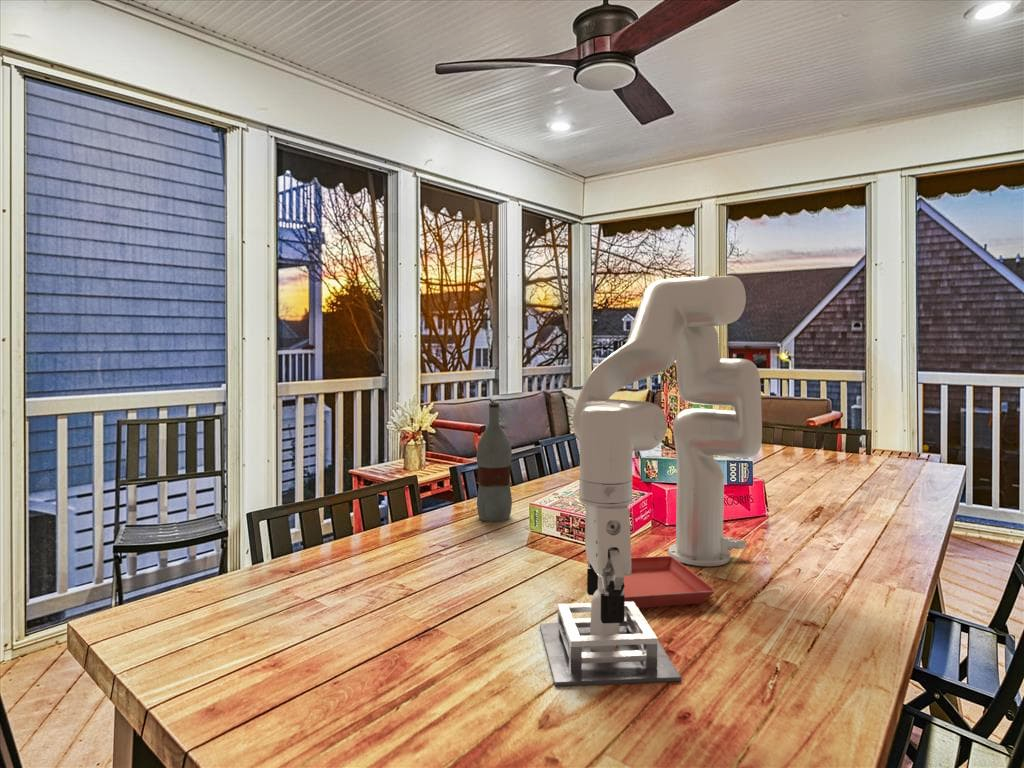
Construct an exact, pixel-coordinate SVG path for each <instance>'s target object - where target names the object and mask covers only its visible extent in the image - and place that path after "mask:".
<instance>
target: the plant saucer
mask: <svg viewBox="0 0 1024 768" xmlns="http://www.w3.org/2000/svg"><path fill="white" fill-rule="evenodd" d="M586 563H587V565H588V560H587V561H586ZM631 567H632V572H631V574H630V575H629V576H626V575H624V581H623V583H624V585H625V587H624V591H625V596H624V602H631V601H634V603H635V604H636V606H637V607H638V609H644V608H653V607H654V608H655V607H671V606H681V605H682V606H683V605H693V604H701V603H703V602H704V601H707V600H708V599H709V598H710V597H711V596H712V595H714V593H716V588H714V587H713V586H711V585H710V584H709V583H707V582H706V581H705V580H704V579H702V578H701V577H700V576H699V575H697V574H696V573H694V572H693V571H692V570H691V569H689V568H688V567H687V566H685V565H684V563H681V562H679V561H678V560H676V559H675V558H674V557H671V556H669V555H663V556H661V555H658V556H645V557H644V556H642V557H641V556H640V557H631ZM589 569H591V568H589ZM610 572H612V569H610Z"/></svg>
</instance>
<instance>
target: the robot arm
mask: <svg viewBox="0 0 1024 768" xmlns="http://www.w3.org/2000/svg"><path fill="white" fill-rule="evenodd" d="M746 302H747V297H746V289H745V286H744V284H743V282H742V281H741V279H740V278H739V277H737V276H735V275H720V276H716V275H715V276H714V275H711V276H710V275H709V276H707V275H706V276H705V275H704V276H692V277H674V278H673V277H672V278H664V279H663V278H662V279H659V280H656V281H653V282H652V283H650V284H649V285H648V286H647V287H646V288H645V291H643V295H642V297H641V299H640V302H639V305H638V308H637V312H636V313H635V317H634V318H633V322H632V325H631V328H630V331H629V334H628V337H627V340H626V342H625V344H623V345H622V346H621V347H619V348H618V349H616V350H615V351H613V352H612V353H610V355H608V356H607V357H606V358H604V359H603V360H602V361H601V362H600V363H599V364H598V365H596V367H594V368H593V370H592V371H590V373H589V374H588V376H587V377H586V379H585V380H584V383H583V385H582V388H581V390H580V393H579V395H578V398H577V401H576V404H575V407H574V411H573V414H572V415H573V416H572V429H573V433H574V436H575V438H576V439H577V440H578V441H579V495H578V496H579V499H578V501H579V502H580V503H582V504H584V505H585V508H584V509H585V523H584V526H585V527H584V545H585V555H586V558H587V561H588V564H587V569H586V571H587V573H586V578H587V579H586V580H587V581H586V582H587V583H586V591H587V594H588V595H589V596H593V594H594V593H595V591H596V590H597V589H598V575H599V576H600V577H601V579H602V587H603V594H601V622H602V623H623V622H624V596H625V591H624V587H625V585H624V583H623V581H624V575H626V576H629V575H630V574H631V572H632V567H631V558H632V539H631V538H632V537H631V524H630V513H629V512H630V511H629V506H630V505H631V504H632V503H633V453H634V452H647V451H651V450H653V449H655V448H657V447H658V446H659V445H660V444H661V443H662V441H663V440H664V438H665V436H666V434H667V429H668V422H667V418H666V414H665V412H664V411H663V409H662V408H661V407H660V406H659V405H657V404H655V403H653V402H649V401H645V400H644V401H643V400H642V401H641V400H626V399H615V398H614V399H612V398H611V397H612V396H613V395H614V394H615V393H616V392H618V391H620V390H621V389H622V388H624V387H626V386H628V385H630V384H633V383H635V382H638V381H641V380H645V379H648V378H649V377H652V376H656V375H657V374H661V373H662V372H665V371H667V370H668V369H669V368H670V367H671V366H673V364H674V363H675V368H676V382H677V384H676V385H677V391H678V394H679V396H680V397H679V398H681V400H682V401H684V402H686V403H689V404H694V405H704V406H705V405H707V406H723V407H724V406H725V407H731V408H732V409H719V408H701V407H692V408H686V409H684V410H683V409H682V410H681V411H679V412H678V413H677V414H676V416H675V417H674V419H673V423H672V434H673V435H672V436H673V440H674V447H675V455H676V510H675V512H676V513H675V514H676V517H675V518H676V520H675V526H676V528H675V543H673V544H671V545H670V546H669V547H668V551H667V553H668V556H671V557H674V558H675V559H676V560H678V561H679V562H680V563H681V564H685V565H689V566H697V567H719V566H722V565H725V564H728V563H729V562H730V560H731V553H730V552H731V550H745V549H746V547H747V544H746V543H747V542H746V541H745V539H735V537H731V536H729V537H728V536H727V537H726V536H724V506H725V505H724V503H725V502H724V499H725V498H724V494H725V478H724V473H723V470H722V468H721V466H720V464H719V463H718V462H717V460H716V459H715V456H721V457H731V458H741V459H743V458H744V459H745V458H746V459H747V458H752V457H755V456H757V455H758V454H759V452H760V451H761V448H762V441H763V419H762V418H763V417H762V413H763V412H762V388H761V387H762V386H761V385H762V384H761V377H760V372H759V369H758V367H757V366H756V364H755V363H754V362H753V361H752V360H750V359H746V358H727V357H726V358H724V357H723V358H722V357H721V354H720V344H719V333H718V330H717V329H716V328H715V327H721V326H727V325H728V324H733V323H735V322H736V321H737V320H739V319H740V317H741V316H742V314H743V313H744V310H745V309H746V308H745V306H746ZM590 568H591V569H590ZM609 569H612V572H605V570H609ZM607 578H612V580H613V581H610V582H609V585H608V583H607Z"/></svg>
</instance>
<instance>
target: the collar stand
mask: <svg viewBox="0 0 1024 768" xmlns="http://www.w3.org/2000/svg"><path fill="white" fill-rule="evenodd" d="M573 613H591V602H578V603H577V602H576V603H575V602H574V603H557V622H547V623H546V622H543V623H539V629H540V633H541V636H542V640H543V641H542V642H543V644H544V648H545V652H546V657H547V660H549V661H548V663H549V669H550V671H551V675H552V680H553V684H554V687H578V686H579V687H580V686H598V685H599V686H601V685H602V686H604V685H623V684H625V685H627V684H646V683H647V684H648V683H649V684H651V683H652V684H653V683H671V682H682V676H681V674H680V672H679V671H678V670H677V668H676V666H675V665H674V663H673V662H672V660H671V659H670V657H669V656H668V654H667V653H666V650H664V648H663V647H662V645H661V643H660V642H659V640H658V638H659V637H657V635H656V634H655V632H654V630H653V629H652V627H651V625H649V623H648V621H647V619H646V618H645V616H644V615H643V614H642V612H641V611H640V608H638V607H637V606H636V604H635V603H634V601H631V602H624V622H623V623H619V634H613V635H590V620H591V617H581V618H580V617H578V618H577V617H575V618H573ZM613 645H617V646H616V648H614V649H613V650H612V651H607V652H596V651H593V650H591V649H590V646H613Z"/></svg>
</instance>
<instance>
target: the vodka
mask: <svg viewBox="0 0 1024 768" xmlns="http://www.w3.org/2000/svg"><path fill="white" fill-rule="evenodd" d="M488 406H489V407H488V410H489V411H488V425H487V427H486V428H485V429H484V432H483V433H482V435H481V437H480V439H479V440H478V442H477V448H476V462H477V474H478V475H477V476H478V489H477V497H476V509H477V515H478V518H479V520H481V519H482V520H481V521H483V520H485V521H484V522H488V521H499V522H503V521H502V520H505V521H507V520H506V519H508V518H509V519H510V517H511V514H512V507H513V498H512V491H511V484H510V483H511V481H510V480H511V468H512V457H513V451H512V445H511V441H510V438H509V437H508V435H507V434H506V432H505V431H504V429H503V428H502V425H501V424H500V403H498V402H489V404H488ZM509 519H508V520H509Z"/></svg>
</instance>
